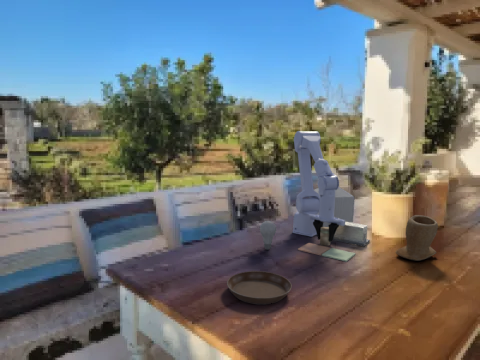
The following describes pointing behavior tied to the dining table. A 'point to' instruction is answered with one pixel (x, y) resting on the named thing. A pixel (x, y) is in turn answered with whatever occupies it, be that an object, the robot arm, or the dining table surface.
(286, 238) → the dining table surface
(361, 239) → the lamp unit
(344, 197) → the decorative block
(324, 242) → the fuse
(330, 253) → the sage pad
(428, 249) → the stone cup
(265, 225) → the lightbulb
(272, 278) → the plant saucer
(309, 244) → the terracotta pad
